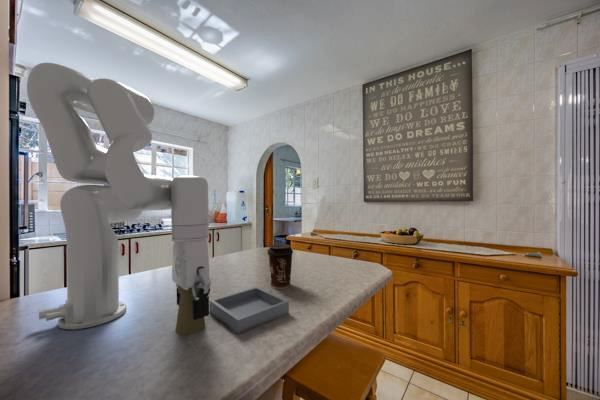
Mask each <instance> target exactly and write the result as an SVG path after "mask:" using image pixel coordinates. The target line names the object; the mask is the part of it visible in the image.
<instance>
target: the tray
mask: <svg viewBox="0 0 600 400" xmlns="http://www.w3.org/2000/svg"><path fill="white" fill-rule="evenodd" d="M209 314H210V315H212V316H213V317H215V318H216V319H217V320H218V321H220V322H221V323H222V324H224V326H226V327H228V328H229V329H230V330H231V331H233V332H234V333H235V334H237V335H240V334H241V335H242V334H243V333H245V332H247V331H248V332H249V331H251V330H252V329H255V328H257V327H260V326H263V325H265V324H267V323H269V322H271V321H275V320H276V319H279V318H281V317H283V316H285V315H288V314H290V301H289V300H288V299H285V298H283V297H281V296H278V295H276V294H273V293H271V292H269V291H267V290H265V289H263V288H261V287H258V286H256V287H251V288H248V289H245V290H241V291H238V292H235V293H231V294H227V295H224V296H220V297H218V298H212V299H209Z"/></svg>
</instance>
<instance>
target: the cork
mask: <svg viewBox="0 0 600 400" xmlns="http://www.w3.org/2000/svg"><path fill="white" fill-rule="evenodd" d="M199 283H201V282H199ZM195 284H198V283H195ZM177 288H178V292H179V293H180V301H179V306H178V310H177V318H176V325H175V333H177V334H178V335H183V336H184V335H187V336H188V335H192V334H196V333H198V332H200V331H202V330H203V329H204V328H205V327H206V322H205V321H206V319H205V317H203V318H200V319H197V320H194V319H193V308H192V300H194V296H193V292H192V289H191V288H190V289H189V290H185V289H183V288H182V287H180V286H179V285H178V287H177ZM201 288H202V287H201ZM201 288H197V292H199V290H200V289H201Z"/></svg>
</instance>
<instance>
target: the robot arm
mask: <svg viewBox="0 0 600 400" xmlns="http://www.w3.org/2000/svg"><path fill="white" fill-rule="evenodd" d="M26 93H27V98H28V101H29V104H30V106H31V108H32V110H33V112H34V114H35V116H36V118H37V119H38V121H39V123H40V125H41V127H42V129H43V131H44V133H45V136H46V140H47V143H48V146H49V149H50V152H51V155H52V158H53V161H54V165H55V167H56V169H57V172H58V174H59V176H61V178H63V179H64V180H65V181H68V182H71V183H76V184H77V183H78V184H81V185H77V186H73V187H71V188H70V189H67V190H66V191H65V192H63V195H62V196H61V199H60V204H59V205H60V206H59V207H60V212H61V216H62V220H63V224H64V228H65V235H66V237H65V238H66V278H67V279H66V286H67V287H66V288H67V289H66V291H67V293H66V294H67V296H66V298H67V299H65V301H64V304H60V305H59V306H58V307H53V308H47V309H42V310H39V311H38V320H40V321H41V320H45V319H46V322H49V321H52V320H56V319H58V321H57V326H58V327H59V328H60V329H62V330H80V329H81V330H83V329H87V328H92V327H96V326H99V325H103V324H105V323H108V322H111V321H113V320H115V319H116V320H117V319H118V318H119V317H121V316H122V315H124V313H126V312H127V304H126V303H125V302H123V301H119V300H120V299H119V297H120V295H119V293H120V292H119V291H120V287H119V285H120V283H119V282H120V281H119V279H120V278H119V277H120V276H119V272H120V271H119V267H120V266H119V263H120V262H119V239H118V237H117V236H118V235H117V234H116V232H115V230H114V229H113V228H112V225H110V224H116V223H117V224H118V223H126V222H133V221H134V220H137V219H138V218H139V217H141V215H142V213H143V212H145V211H167V210H171V212H170V213H171V214H170V215H171V217H170V219H171V242H173V247H172V263H171V265H172V266H171V269H172V270H171V271H172V272H171V280H172V281H173V282H174V284H175V286H176V305H177V306H178V307H179V301H180V293H179V292H178V285H179V286H180V287H182V288H183V289H185V290H189V289H190V288H191V289H192V292H193V296H194V300H192V308H193V319H194V320H197V319H200V318H203V317H204V318H205V317H208V316H209V315H210V292H211V284H212V280H211V279H210V259H209V249H208V248H209V247H208V240H209V238H210V226H209V223H210V222H209V215H210V213H209V182H208V180H207V179H206V178H205V177H202V176H199V175H198V176H196V175H180V176H175V177H165V176H158V175H151V174H144V172H142V170H141V167H140V166H139V164H138V162H137V160H136V158H135V153H137V152H139V151H142V150H143V149H145V148H146V147H148V146H149V145H151V144H150V143H152V140H153V134H152V132H151V130H150V128H149V126H148V125H149V124H151V123H152V122H153V120H154V118H155V109H154V105H153V103H152V102H151V100H150V99H149V98H148V97H147V96H146V95H145V94H143V93H141V92H139V91H137V90H135V89H133V88H131V87H129V86H127V85H125V84H123V83H121V82H119V81H116V80H115V79H111V78H110V79H109V78H97V79H94V78H92V77H91V76H88V75H86V74H83V72H80V71H77V70H75V69H73V68H71V67H68V66H66V65H61V64H59V63H54V62H40V63H38V64H36V65H34V67H33V68H32V69H31V70H30V72H29V74H28V77H27V81H26ZM76 109H78V110H81V111H84V112H87V113H89V114H93V115H96V117H97V120H98V121H99V123H100V125H101V127H102V129H103V131H104V134H105V135H106V137H107V139H108V141H109V143H110V144H109V146H108V147H107V148H102V147H101V146H99V145H98V144H97V143H96V141H95V139H94V137H93V136H94V135H93V134H92V130H91V128H90V126H89V125H88V123H87V122H86V120H85V119H84V118H83V117H82V116H81V115H80V114H79V113H78V112H77V111H76ZM82 184H83V185H82ZM199 282H201V283H199ZM195 283H198V284H195ZM201 287H202V288H201ZM197 288H201V289H200V290H199V292H197Z"/></svg>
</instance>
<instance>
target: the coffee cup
mask: <svg viewBox="0 0 600 400" xmlns="http://www.w3.org/2000/svg"><path fill="white" fill-rule="evenodd" d="M293 253H294V250H293V248H292V247H291V244H285V243H277V244H271V245H269V248H268V249H267V255H268V261H269V271H270V272H269V273H270V287H271V288H272V289H275V290H278V289H279V290H284V289H287V288H289V287H290V286H291V275H292V267H293V264H292V263H293Z"/></svg>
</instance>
